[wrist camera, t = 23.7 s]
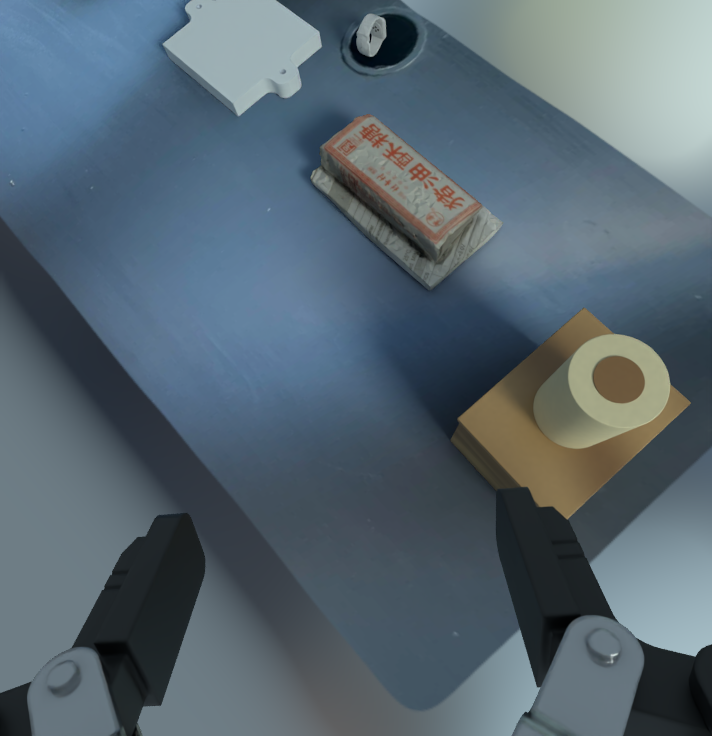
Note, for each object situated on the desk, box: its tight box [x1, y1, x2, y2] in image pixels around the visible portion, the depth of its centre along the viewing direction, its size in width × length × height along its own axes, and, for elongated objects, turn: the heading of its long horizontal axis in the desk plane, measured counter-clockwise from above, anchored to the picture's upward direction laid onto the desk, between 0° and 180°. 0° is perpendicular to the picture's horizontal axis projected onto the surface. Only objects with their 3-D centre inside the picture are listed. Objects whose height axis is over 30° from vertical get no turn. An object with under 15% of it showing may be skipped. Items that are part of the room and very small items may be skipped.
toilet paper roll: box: [533, 334, 670, 449], centre depth 31 cm, size 5×5×8 cm
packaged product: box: [310, 114, 503, 291], centre depth 50 cm, size 18×5×10 cm
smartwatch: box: [356, 14, 386, 57], centre depth 56 cm, size 4×2×4 cm, turn 147°
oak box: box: [450, 308, 691, 519], centre depth 40 cm, size 12×9×10 cm
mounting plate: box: [162, 0, 322, 117], centre depth 59 cm, size 18×13×2 cm
